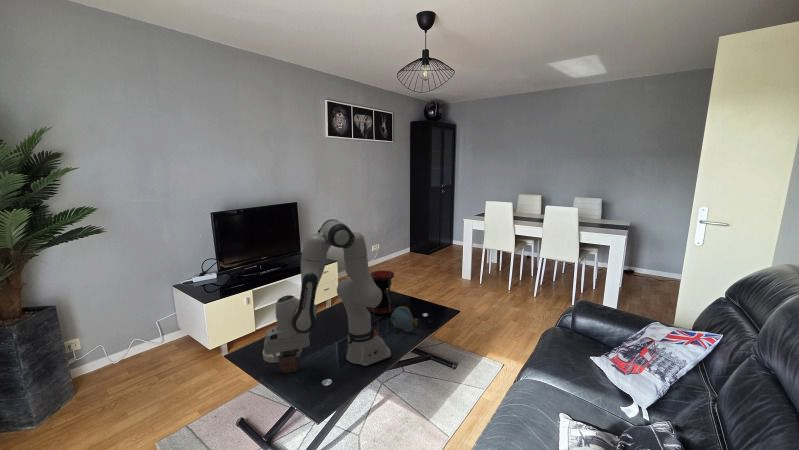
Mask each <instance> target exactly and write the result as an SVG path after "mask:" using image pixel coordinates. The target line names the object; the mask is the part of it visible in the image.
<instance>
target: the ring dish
mask: <svg viewBox="0 0 799 450" xmlns="http://www.w3.org/2000/svg"><path fill="white" fill-rule="evenodd" d="M279 355H282V354H280V352H279V353H276V356H279ZM262 360H263V361H264V362H266V363H271V364H273V363H274V364H275V363H279V361H277V362H276V361H275V358H274V357H273V354H269V355H266V354H265V353H264V349H263V350H262Z"/></svg>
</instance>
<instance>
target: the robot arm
mask: <svg viewBox="0 0 799 450" xmlns="http://www.w3.org/2000/svg"><path fill="white" fill-rule="evenodd" d="M331 247H334V248H339V249H342V251H343V260H344V270H345V273H346V275H347V276H348V277H349V278H348V279H346V278H345V279H342V280H340V282H338V284H337V287H336V294H337V296H338V297H339V298H340V300H341V301H342V304H343V306H344V308H345V311H346V314H347V315H346V316H347V325H348V330H347V342H348V345H347V352H346V356H345V358H346V360H347V361H348V362H350V363H351V364H355V365H361V366H363V367H366V366H369V365H372V364H374V363H377V362H380V361H383V360H385V359H388V358H391V356H392V353H391V349H390V348H389V347H388V345H386V342H385V340H384V339H383V338H382V337H381V336H379V335H378V334H379V332H378V331H377V330H376V329H375V328H373V327H372V323H371V322H372V317H371V312H370V311H369V310H368V309H367V308H371V307H376V306H378V305H379V304H380V302H381V300H382V292H381V290H380V289H379V288H378V287H377V285H376V284H375V282H374V281H373V279H372V277H371V274H370V273H371V271H370V267H369V260H368V250H367V244H366V240H365V238H364V235H363V234H361V233H360V232H356V231H354V232H353V231H352V230H351V229H350V228H349V226H348V225H347V224H345V222H342V221H339V220H338V219H331V218H330V219H328V220H326V221H325V222H323V223H322V225H321V227H319V229H318V230H317V233H312V234H310V235H308V236H307V237H306V239H305V241H304V244H303V248H302V250H301V251H302V252H301V257H300V278H301V280H300V281H301V283H300V285H301V288H300V289H301V291H300V296H299V298H298V297H295V296H294V295H291V294H290V295H288V294H287V295H284V296H281V297H280V298H278V300H277V301H276V304H275V319H276V325H275V326H274V327H271V328H270V329H268V330H267V331H266V333H265V334H266V335H265V336H266V337H265V338H264V340H263V341H264V342H263V350H264V353H265V354H266V355H269V354H273V357H274V358H275V361H276V363H278V362H277V361H279V356H276V353H279V352H284V351H289V350H297V349H298V351H297V352H296V354H297V356H296V358H300V357H301V353H302V351H303V348H309V347H310V345H311V340H310V335H311V332H312V331H313V330H314V329H315V327H316V324H317V312H318V308H317V305H316V304H315V300H316V295H317V294H316V293H317V289H318V287H319V284H320V282H321V279H322V276H323V273H324V272H325V268H326V264H327V259H328V258H327V256H328V253H329V250H330V248H331Z"/></svg>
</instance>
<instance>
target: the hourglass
mask: <svg viewBox="0 0 799 450" xmlns="http://www.w3.org/2000/svg"><path fill="white" fill-rule="evenodd" d="M370 274H371V277H372V279H373V281H374V282H375V284H376V285H377V287H378V288H379V289H380V290H381V292H382V300H381V302H380V304H379V305H378V306H376V307H370V312H372V313H373V314H375V315H388V313H389V314H392V313H393V312H394V310H395V309H396V308H395V305H394V304H393V303H392V292H391V286H392V279H394V278H395V273H394V272H393V271H391V270H375V271H372V272H370ZM385 291H386V292H385ZM392 311H393V312H392Z"/></svg>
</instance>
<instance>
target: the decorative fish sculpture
mask: <svg viewBox="0 0 799 450" xmlns="http://www.w3.org/2000/svg"><path fill="white" fill-rule="evenodd" d="M390 316H391V317H390V318H389V321H390V323H391V324H393V326H394V327H395V326H396V327H397V328H399V329H401V330H402V331H404V332H408V333H409V332H412V330H413V328H414V325H415V326H416V327H418V318H414V317H413V314H412V312H411V310H410V309H409V308H408V307H407V306H398V307H396V308H395V309H394V311H393V312H391V315H390Z"/></svg>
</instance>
